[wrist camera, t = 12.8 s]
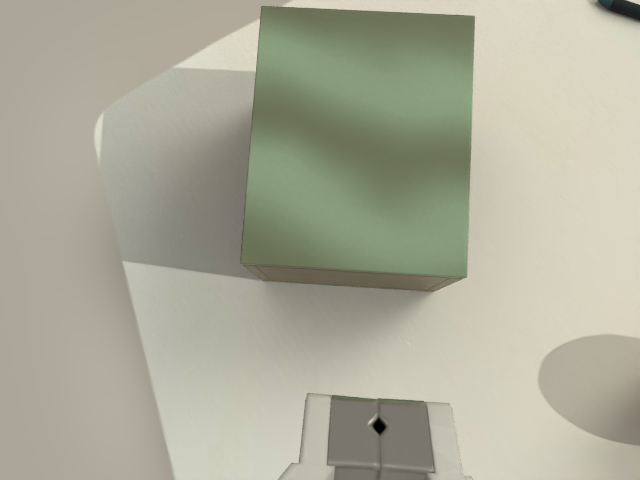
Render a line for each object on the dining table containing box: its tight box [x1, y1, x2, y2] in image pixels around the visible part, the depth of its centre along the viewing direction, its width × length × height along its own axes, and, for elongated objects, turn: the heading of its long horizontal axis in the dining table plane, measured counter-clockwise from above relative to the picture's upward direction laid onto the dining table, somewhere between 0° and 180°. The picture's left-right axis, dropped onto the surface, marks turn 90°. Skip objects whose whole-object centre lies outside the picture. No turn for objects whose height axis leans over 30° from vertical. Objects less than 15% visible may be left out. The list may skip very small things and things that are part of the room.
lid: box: [240, 6, 475, 278], centre depth 34 cm, size 17×14×1 cm
